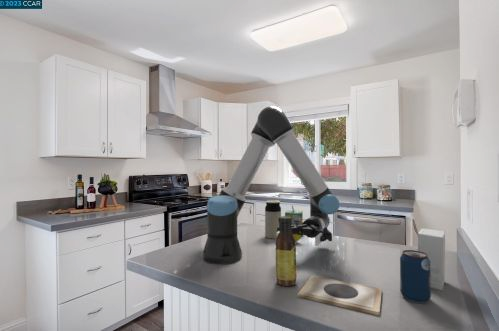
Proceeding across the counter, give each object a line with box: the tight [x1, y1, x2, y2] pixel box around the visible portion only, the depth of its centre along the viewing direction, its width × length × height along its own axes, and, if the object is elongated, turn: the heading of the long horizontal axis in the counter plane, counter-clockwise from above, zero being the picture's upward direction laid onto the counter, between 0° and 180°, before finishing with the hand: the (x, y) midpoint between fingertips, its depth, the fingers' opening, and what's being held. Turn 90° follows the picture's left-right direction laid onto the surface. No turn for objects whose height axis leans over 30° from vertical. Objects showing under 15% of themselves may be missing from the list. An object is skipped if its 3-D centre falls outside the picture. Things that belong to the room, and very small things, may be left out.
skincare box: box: [417, 227, 446, 291], centre depth 82 cm, size 8×7×16 cm
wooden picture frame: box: [297, 275, 383, 316], centre depth 75 cm, size 20×14×1 cm
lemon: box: [291, 223, 302, 243], centre depth 126 cm, size 7×6×10 cm
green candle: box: [284, 204, 304, 225], centre depth 144 cm, size 9×9×15 cm
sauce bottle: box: [275, 215, 297, 287], centre depth 83 cm, size 7×6×20 cm
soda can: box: [399, 249, 432, 304], centre depth 73 cm, size 7×7×12 cm
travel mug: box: [264, 199, 282, 240], centre depth 137 cm, size 8×8×18 cm
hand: (296, 239), depth 91 cm, fingers open, 13 cm apart
